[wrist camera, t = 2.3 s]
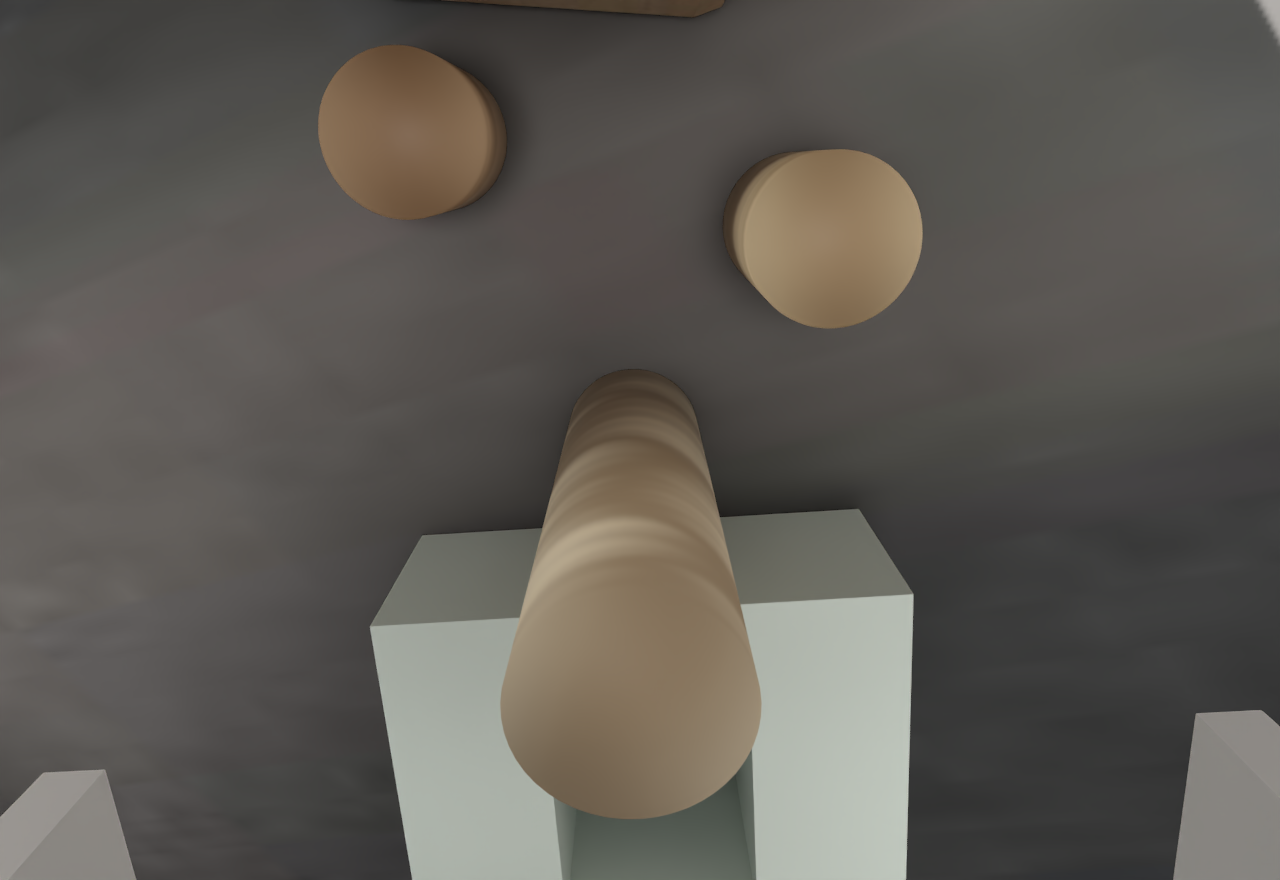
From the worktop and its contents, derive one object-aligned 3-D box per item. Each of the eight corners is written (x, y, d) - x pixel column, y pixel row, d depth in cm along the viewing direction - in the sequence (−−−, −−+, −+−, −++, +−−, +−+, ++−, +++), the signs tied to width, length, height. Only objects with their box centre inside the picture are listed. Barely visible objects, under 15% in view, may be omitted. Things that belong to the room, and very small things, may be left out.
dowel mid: (725, 297, 27) (749, 333, 21) (720, 156, 26) (744, 155, 20) (859, 288, 27) (920, 322, 21) (860, 147, 26) (924, 143, 20)
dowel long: (574, 496, 29) (514, 825, 15) (563, 373, 28) (486, 600, 13) (700, 488, 29) (764, 811, 15) (694, 365, 28) (758, 584, 13)
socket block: (473, 889, 33) (438, 1040, 28) (422, 535, 29) (370, 626, 24) (856, 867, 33) (902, 1015, 27) (858, 509, 29) (913, 594, 23)
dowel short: (376, 215, 26) (332, 224, 23) (355, 67, 25) (305, 50, 21) (514, 206, 26) (493, 214, 23) (498, 57, 25) (474, 39, 21)
